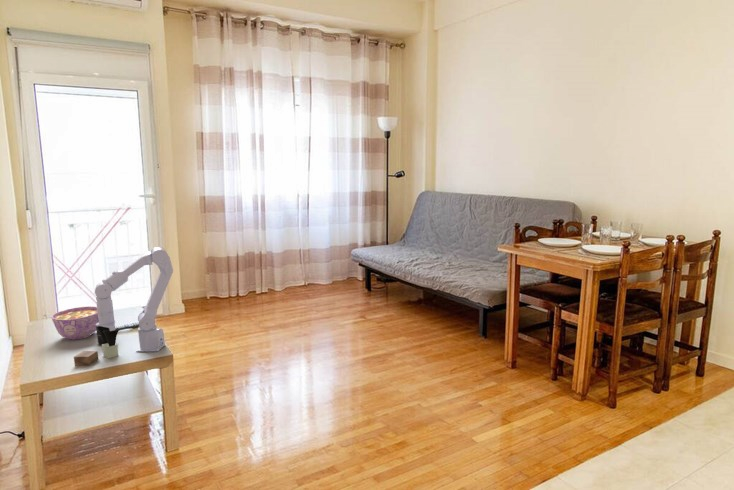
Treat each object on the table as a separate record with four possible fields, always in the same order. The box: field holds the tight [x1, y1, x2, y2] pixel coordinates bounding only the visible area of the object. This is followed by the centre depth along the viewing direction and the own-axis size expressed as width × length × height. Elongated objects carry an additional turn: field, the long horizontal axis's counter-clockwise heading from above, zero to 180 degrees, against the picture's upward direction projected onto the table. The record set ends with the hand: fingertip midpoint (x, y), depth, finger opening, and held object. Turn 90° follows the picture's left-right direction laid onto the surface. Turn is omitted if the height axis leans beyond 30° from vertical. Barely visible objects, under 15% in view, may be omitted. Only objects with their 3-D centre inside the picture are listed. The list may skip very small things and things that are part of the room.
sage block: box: [101, 342, 119, 359], centre depth 201 cm, size 4×4×5 cm
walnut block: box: [73, 350, 99, 367], centre depth 194 cm, size 6×6×4 cm
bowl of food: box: [50, 305, 99, 341], centre depth 223 cm, size 20×20×12 cm
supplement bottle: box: [96, 320, 108, 346], centre depth 215 cm, size 7×7×12 cm
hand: (109, 343), depth 200 cm, fingers open, 7 cm apart
